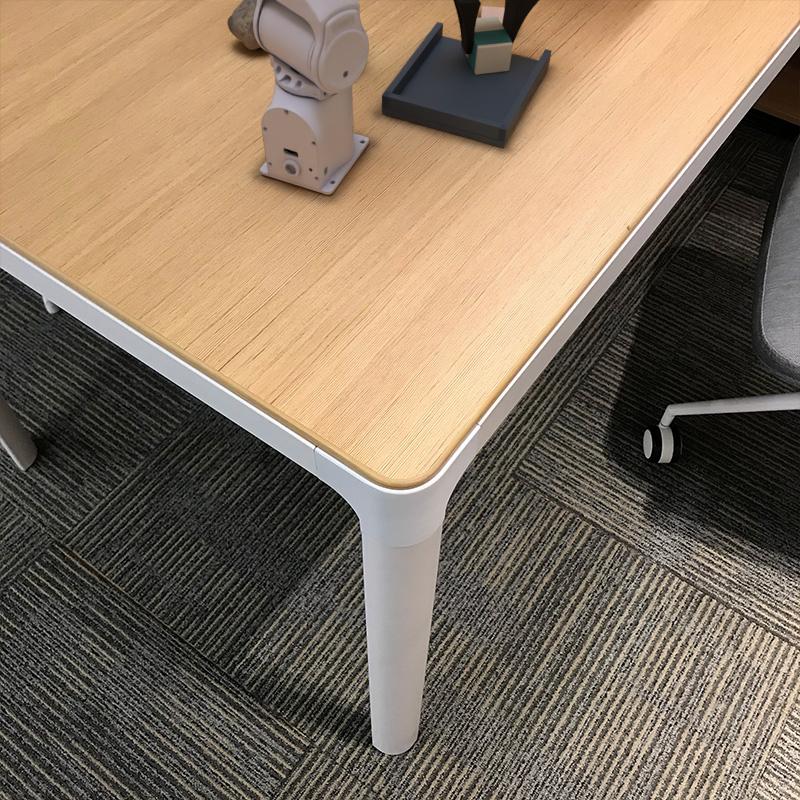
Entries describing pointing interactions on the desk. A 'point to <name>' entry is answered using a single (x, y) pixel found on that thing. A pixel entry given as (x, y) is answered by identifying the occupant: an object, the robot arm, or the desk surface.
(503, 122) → the tray
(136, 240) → the desk surface
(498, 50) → the eraser
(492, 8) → the pink flat block
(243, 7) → the stone
